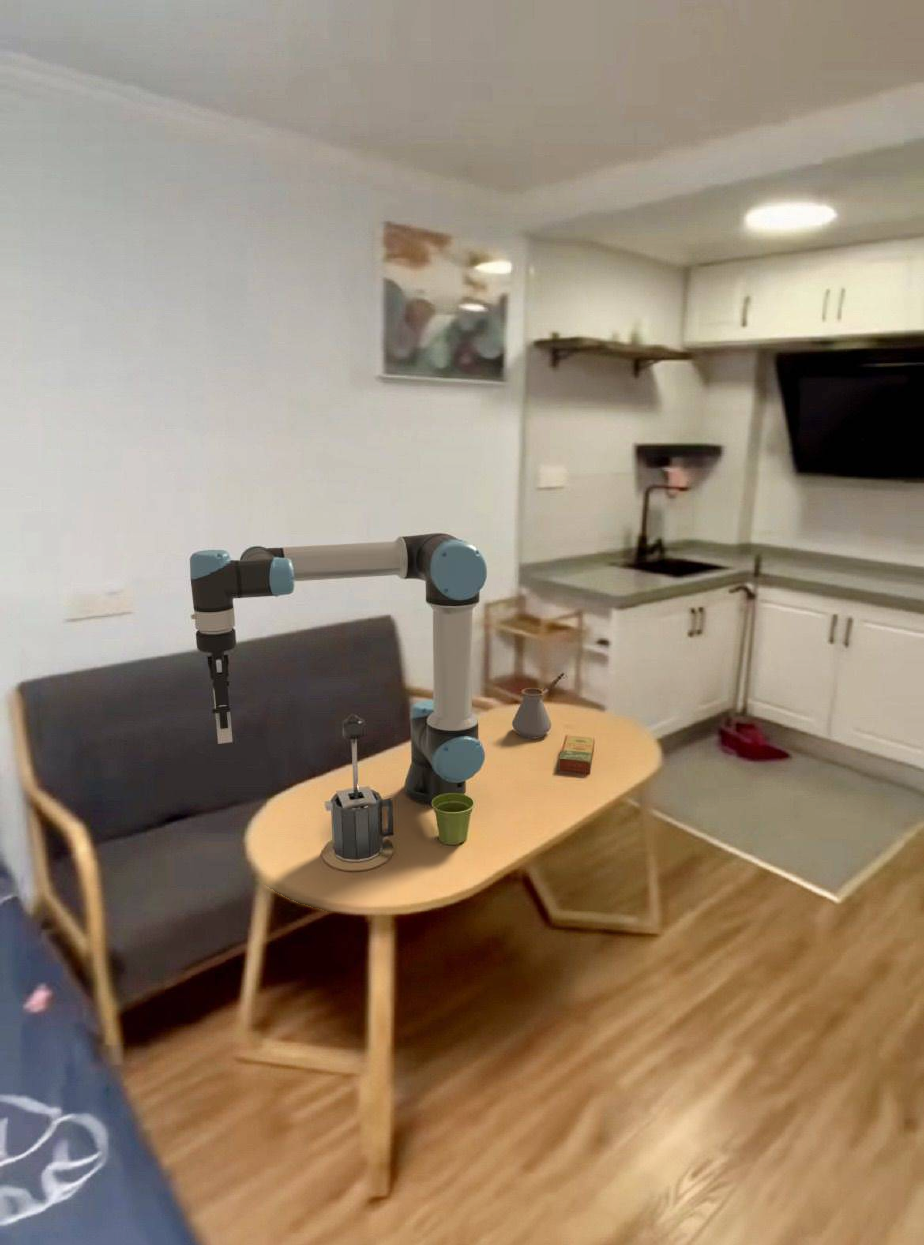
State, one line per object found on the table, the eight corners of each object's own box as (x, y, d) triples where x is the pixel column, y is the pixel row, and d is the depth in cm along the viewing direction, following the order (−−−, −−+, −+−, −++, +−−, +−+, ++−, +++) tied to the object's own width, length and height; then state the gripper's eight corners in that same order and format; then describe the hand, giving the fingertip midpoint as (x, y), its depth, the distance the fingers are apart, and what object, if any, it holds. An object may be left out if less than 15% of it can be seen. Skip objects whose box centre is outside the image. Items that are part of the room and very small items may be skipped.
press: (385, 829, 178) (383, 775, 175) (402, 864, 164) (401, 806, 161) (317, 840, 173) (314, 785, 170) (329, 877, 160) (326, 818, 156)
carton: (594, 751, 220) (595, 737, 219) (590, 776, 205) (591, 761, 204) (564, 748, 222) (565, 734, 221) (558, 772, 207) (558, 757, 206)
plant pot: (434, 826, 180) (434, 791, 177) (476, 828, 179) (476, 793, 176) (428, 848, 171) (428, 811, 168) (472, 850, 170) (472, 813, 167)
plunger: (369, 800, 171) (366, 707, 165) (376, 815, 164) (373, 719, 159) (337, 805, 168) (332, 711, 163) (343, 820, 162) (339, 723, 157)
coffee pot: (534, 744, 224) (536, 694, 220) (503, 733, 232) (504, 684, 228) (578, 723, 239) (580, 676, 235) (548, 713, 247) (549, 668, 243)
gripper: (194, 615, 167) (203, 710, 172) (196, 648, 144) (205, 756, 149) (231, 613, 169) (239, 706, 174) (238, 644, 146) (247, 750, 151)
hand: (223, 729), depth 162 cm, fingers open, 13 cm apart
